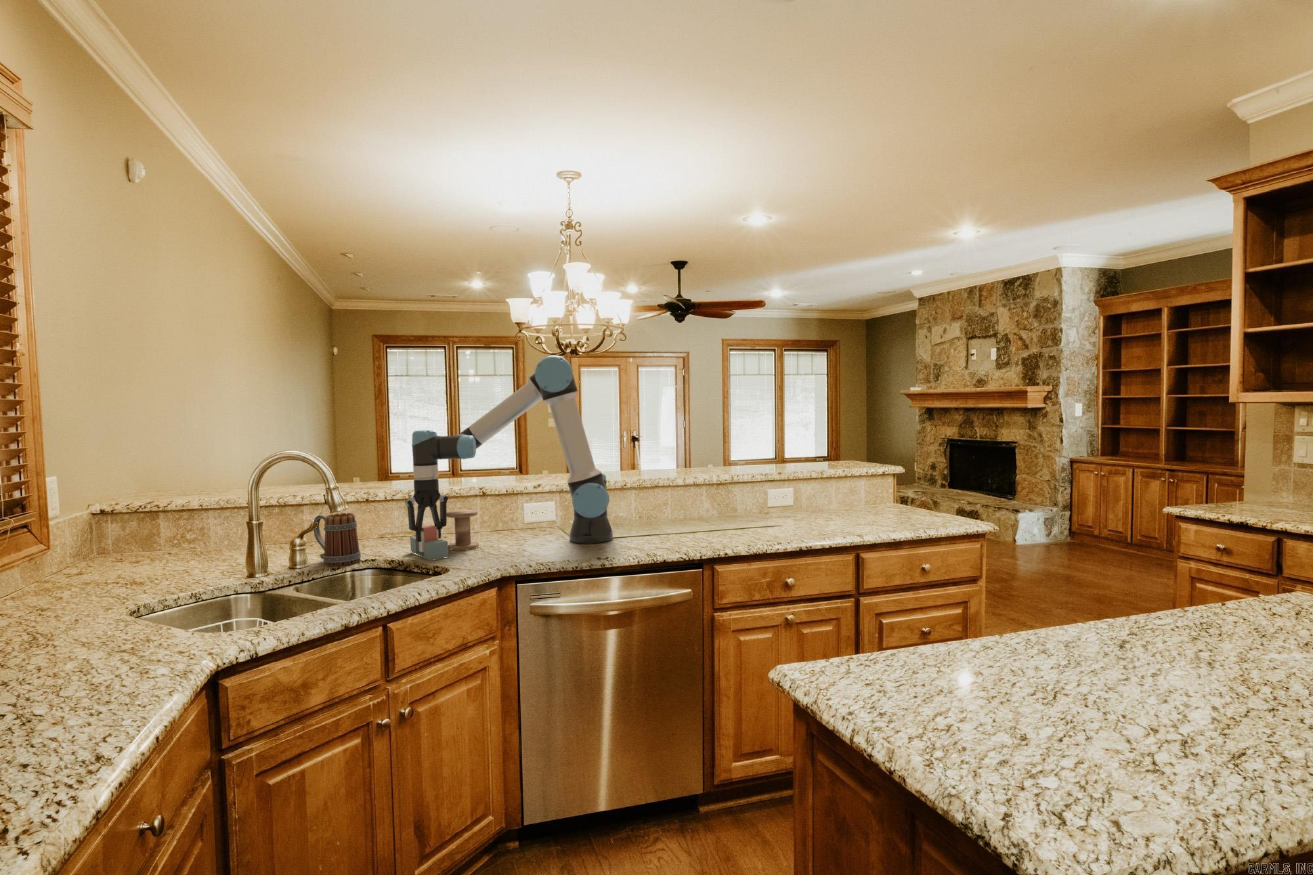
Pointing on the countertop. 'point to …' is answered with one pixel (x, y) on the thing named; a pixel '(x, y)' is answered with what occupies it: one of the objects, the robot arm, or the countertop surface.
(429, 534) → the red rectangular block
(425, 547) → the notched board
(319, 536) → the mug
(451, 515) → the bobbin
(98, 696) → the countertop surface
